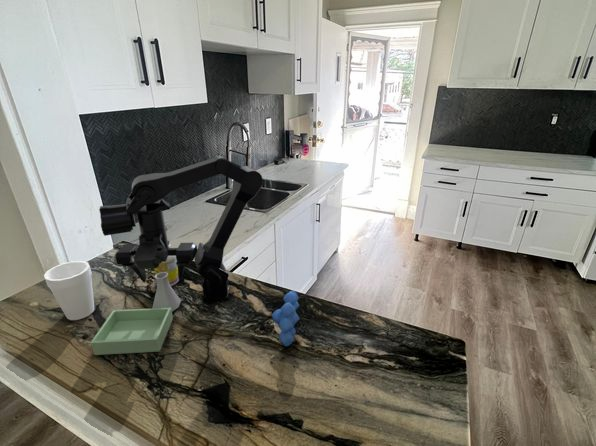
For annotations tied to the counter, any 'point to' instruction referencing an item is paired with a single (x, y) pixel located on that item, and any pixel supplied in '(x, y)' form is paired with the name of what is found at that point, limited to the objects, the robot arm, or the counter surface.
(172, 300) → the flask
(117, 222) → the robot arm
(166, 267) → the supplement bottle
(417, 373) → the counter surface
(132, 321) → the green tray
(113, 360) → the counter surface
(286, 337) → the grapes
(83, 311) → the foam cup
